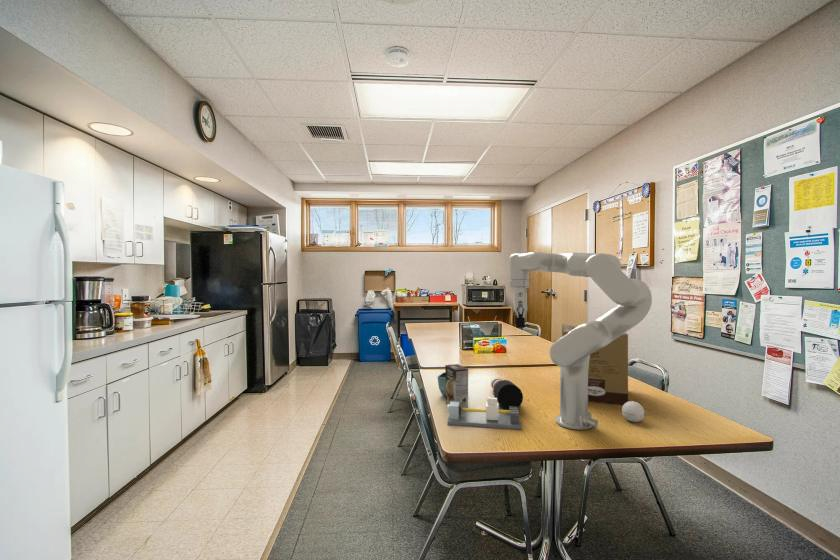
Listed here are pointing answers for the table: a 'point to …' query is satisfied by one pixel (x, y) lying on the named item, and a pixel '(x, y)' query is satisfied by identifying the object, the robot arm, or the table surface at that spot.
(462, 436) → the table surface
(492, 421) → the board
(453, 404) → the connector
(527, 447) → the table surface
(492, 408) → the sleeve
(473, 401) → the table surface
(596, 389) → the cardboard box
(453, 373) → the coffee box
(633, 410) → the white textured egg
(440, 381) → the flower pot
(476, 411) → the fibre cord
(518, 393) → the black cylinder
